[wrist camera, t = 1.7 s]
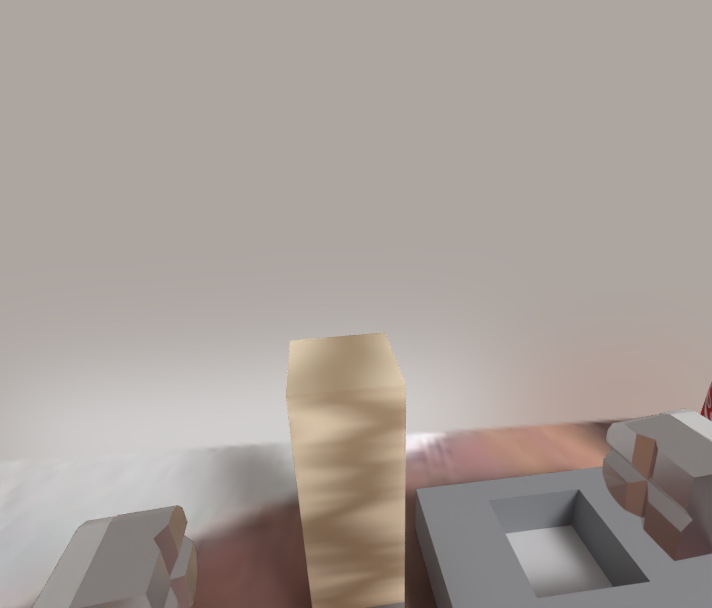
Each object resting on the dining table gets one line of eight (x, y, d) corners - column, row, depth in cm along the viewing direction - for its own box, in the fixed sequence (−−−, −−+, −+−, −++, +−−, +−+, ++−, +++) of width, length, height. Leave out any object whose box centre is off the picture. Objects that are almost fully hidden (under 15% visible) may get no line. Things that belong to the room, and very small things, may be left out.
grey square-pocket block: (460, 692, 22) (464, 646, 21) (415, 528, 31) (415, 489, 30) (750, 644, 24) (774, 598, 22) (625, 501, 33) (636, 462, 31)
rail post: (318, 659, 24) (285, 396, 17) (316, 575, 28) (290, 340, 22) (404, 646, 24) (406, 384, 17) (388, 565, 29) (385, 332, 22)
